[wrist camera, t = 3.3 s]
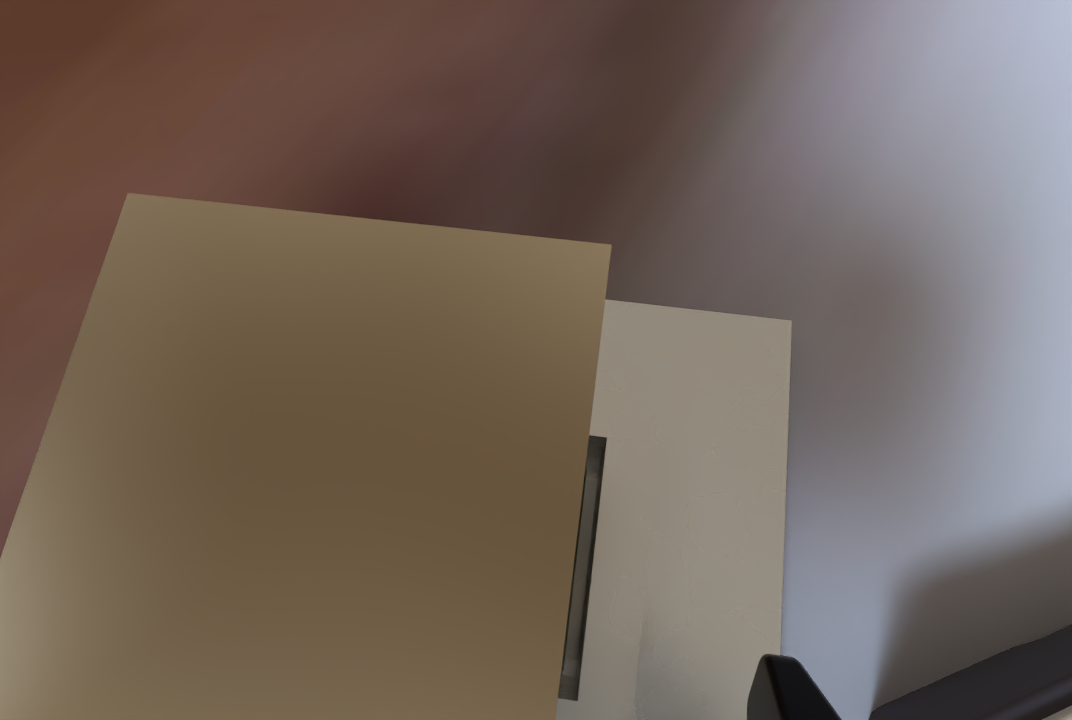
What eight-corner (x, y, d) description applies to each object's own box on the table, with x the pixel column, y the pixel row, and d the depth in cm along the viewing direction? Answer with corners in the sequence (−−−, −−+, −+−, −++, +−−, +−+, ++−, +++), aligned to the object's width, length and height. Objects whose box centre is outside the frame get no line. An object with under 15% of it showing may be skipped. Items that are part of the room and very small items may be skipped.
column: (563, 661, 17) (557, 848, 4) (386, 633, 17) (-77, 737, 5) (585, 480, 18) (626, 235, 6) (419, 457, 18) (120, 181, 6)
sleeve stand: (757, 929, 16) (851, 1095, 11) (152, 821, 17) (-32, 922, 12) (781, 333, 20) (857, 241, 15) (294, 277, 21) (205, 174, 16)
